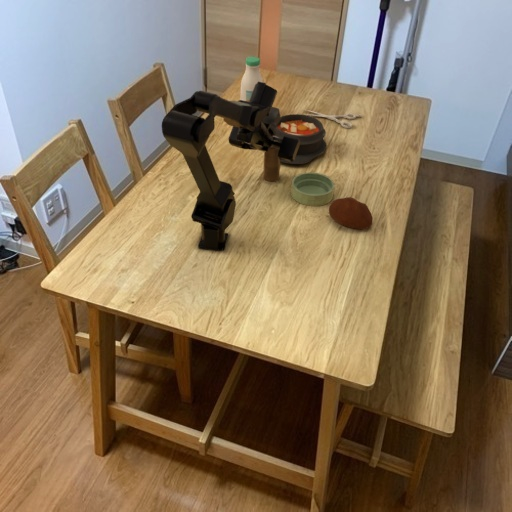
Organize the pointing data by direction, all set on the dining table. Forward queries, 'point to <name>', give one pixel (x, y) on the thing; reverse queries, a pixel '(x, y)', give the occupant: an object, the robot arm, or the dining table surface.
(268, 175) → the pepper mill
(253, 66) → the milk bottle
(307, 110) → the scissors
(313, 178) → the green round dish
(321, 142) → the casserole
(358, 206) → the potato
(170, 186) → the dining table surface
